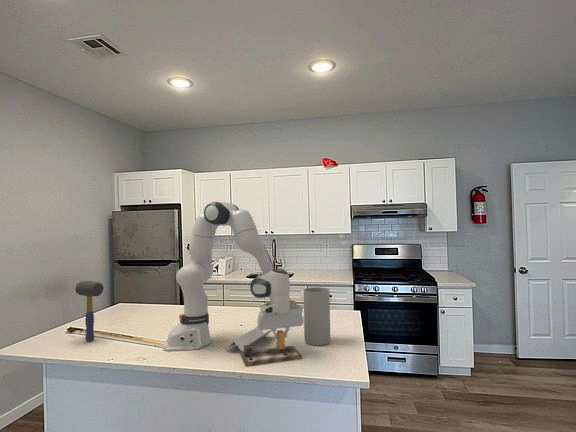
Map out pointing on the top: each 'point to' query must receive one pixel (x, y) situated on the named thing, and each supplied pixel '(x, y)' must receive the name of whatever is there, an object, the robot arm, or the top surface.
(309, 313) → the cylinder vase
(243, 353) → the gauge board
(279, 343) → the sliding jaw
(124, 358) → the top surface
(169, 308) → the top surface
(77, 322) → the top surface
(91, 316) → the rubber mallet
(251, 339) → the z bracket
